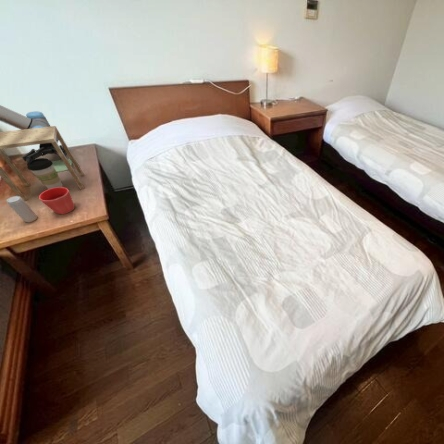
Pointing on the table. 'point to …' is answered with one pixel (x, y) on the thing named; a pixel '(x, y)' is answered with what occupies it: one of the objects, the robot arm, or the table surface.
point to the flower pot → (58, 200)
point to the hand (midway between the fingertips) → (46, 161)
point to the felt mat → (60, 165)
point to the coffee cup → (45, 172)
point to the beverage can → (21, 208)
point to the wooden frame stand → (32, 138)
